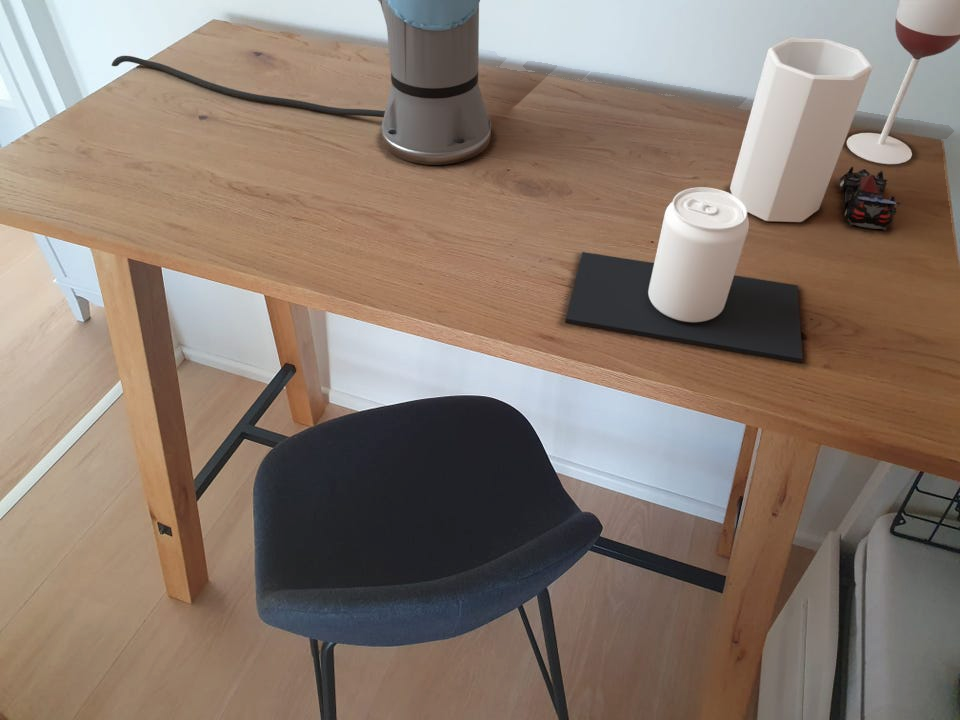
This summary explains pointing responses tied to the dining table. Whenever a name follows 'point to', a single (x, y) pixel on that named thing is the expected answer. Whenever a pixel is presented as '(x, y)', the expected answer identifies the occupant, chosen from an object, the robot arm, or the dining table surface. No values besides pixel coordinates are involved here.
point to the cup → (798, 127)
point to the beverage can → (698, 254)
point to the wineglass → (911, 67)
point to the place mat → (739, 327)
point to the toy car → (863, 190)
